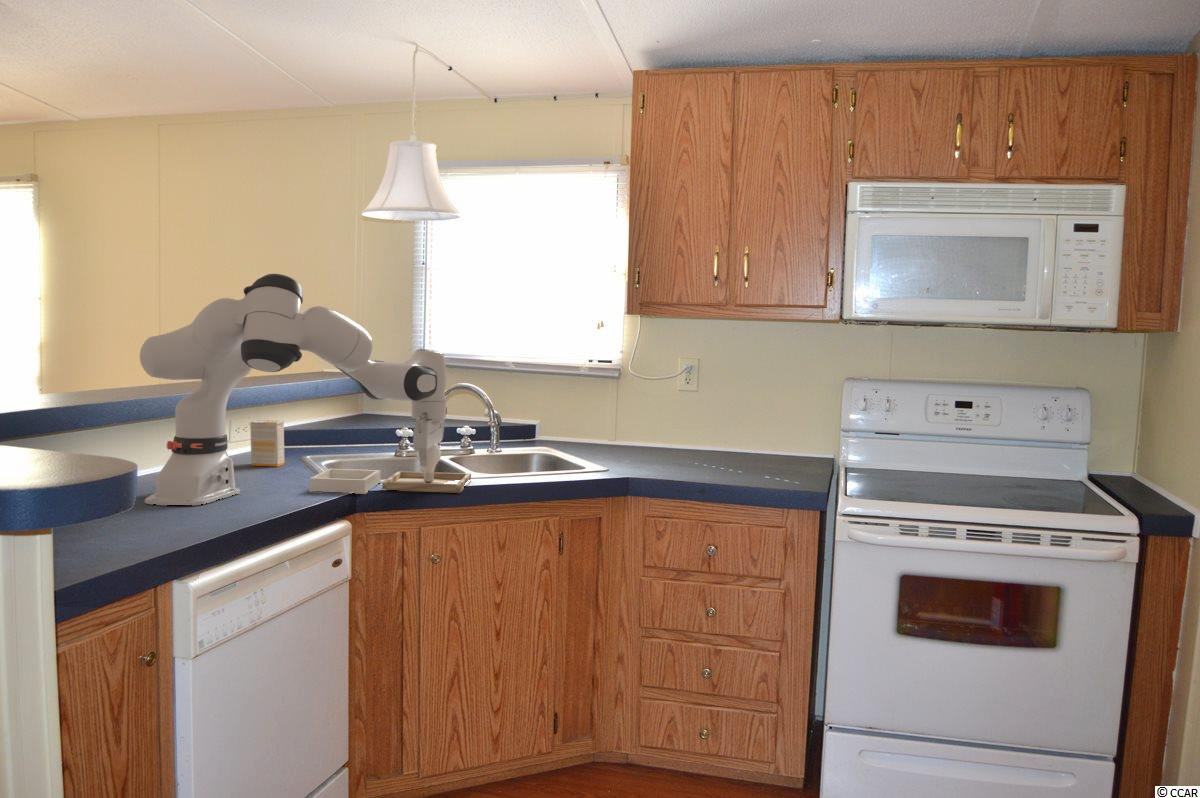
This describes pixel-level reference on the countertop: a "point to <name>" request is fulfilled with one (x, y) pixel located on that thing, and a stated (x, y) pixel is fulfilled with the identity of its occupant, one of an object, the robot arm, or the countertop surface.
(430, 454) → the lightbulb
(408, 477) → the tray
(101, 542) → the countertop surface
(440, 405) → the robot arm
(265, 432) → the supplement box
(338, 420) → the countertop surface
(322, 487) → the shallow white dish
